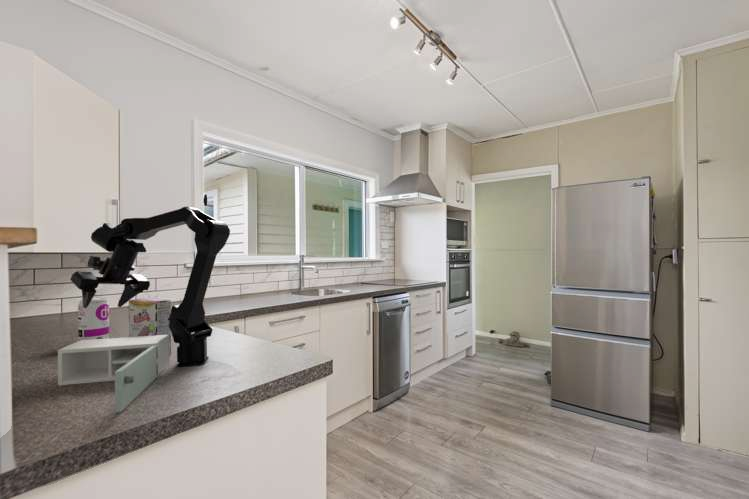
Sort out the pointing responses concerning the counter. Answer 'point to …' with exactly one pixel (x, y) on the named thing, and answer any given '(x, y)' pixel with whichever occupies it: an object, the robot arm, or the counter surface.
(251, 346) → the counter surface
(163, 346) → the cupboard
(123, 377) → the door
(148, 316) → the candy bar box
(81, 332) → the supplement can
